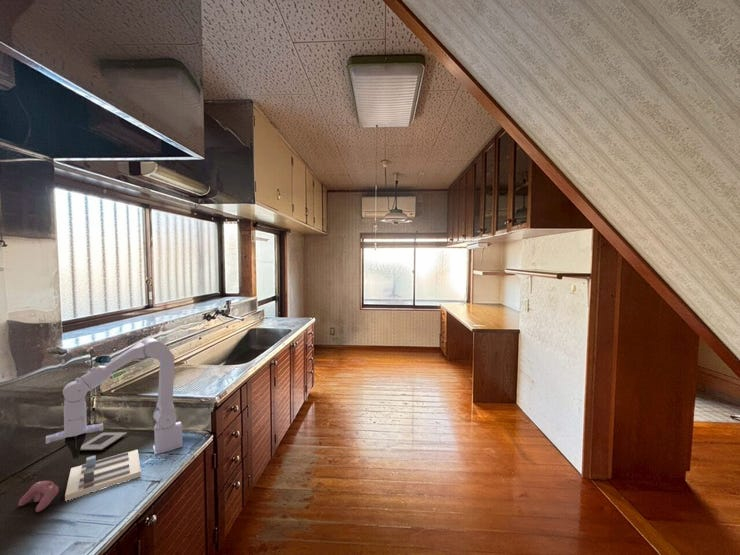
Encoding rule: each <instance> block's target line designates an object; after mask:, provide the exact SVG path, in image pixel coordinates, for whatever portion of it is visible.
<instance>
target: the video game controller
mask: <svg viewBox="0 0 740 555" xmlns="http://www.w3.org/2000/svg"><path fill="white" fill-rule="evenodd" d="M59 488H60V487H59V486H58V485H57V484H55V482H53V481H52V480H40V481H38V482H35V483H34V484H32V485H31V486H30V488H29V489H28V490H27V492H25V494H24V495H23V496H22V497H21V498H19V501H18V506H19V507H22V506H24V505H26V504H27V503H29V502H30V501H31V500H32V499H33V501H34V502H35V503H38V504H37V505H36V506H35V512H36V513H40V512H41V511H43V510H45V509H46V508H47V507H48V506H49V505H50V504H51V502H52V501H53V500H54V499H55V498H56V496H57V495H58V494H59V493H58V492H59Z"/></svg>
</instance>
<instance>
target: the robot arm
mask: <svg viewBox="0 0 740 555" xmlns="http://www.w3.org/2000/svg"><path fill="white" fill-rule="evenodd" d="M145 355H146V356H147V357H148V358H152V359H155V360H157V361H158V362H159V369H158V371H159V373H158V394H157V397H158V398H157V402H156V405H155V406H156V408H155V409H154V412H153V414H152V417H153V420H154V421H155V425H154V427H153V428H154V430H153V432H154V444H153V446H152V449H153V453H154V455H160V454H163V453H165V452H169V451H172V450H177V449H179V448H182V447H184V445H183V444H184V443H183V439H184V437H183V425H182V422H181V421H177V419H178V416H177V414H176V412H175V404H174V401H173V399H174V398H173V397H174V379H175V378H174V376H175V355H174V354H173V353H172V351H171V350H170V349H169V348H168V345H167V344H165V343H163V342H162V341H159V340H158V339H156V338H153V337H148V338H145V339H144V340H143V341H141V342H138V343H136V344H135V345H133V346H132V347H131V348H129V349H128V350H126V351H125V352H123V353H122V354H120V355H118V356H117V357H116V358H114V359H112V361H110V362H108V363H107V364H105V365H97V366H96V367H95V366H92V367H91V368H90V371H88V372H87V373H85V374H83V375H82V376H80V377H78V376H77V377H76V378H74V381H70V382H68V383H66V384H65V385H64V387H63V390H62V394H63V397H64V400H63V405H64V406H63V430H61V431H59V432H56V433H53V434H49V435H46V436H45V444H50V443H51V442H57V441H60V440H64V444H65V446H67V447H68V450H70V453H71V454H72V459H73V460H74V459H79V458H80V452H81V451H80V449H81V446H82V445H83V444H84V443H85V442H84V441H85V440H86V437H87V434H89V433H90V434H91V433H95V432H102V431H104V423H103V422H101V423H97V424H95V423H94V424H90V425H87V424H88V423H87V420H88V419H87V401H86V396H87V393H88V392H90V391H92V390H94V389H95V388H97V387H98V386H100V385H102V384H103V383H104V382H106V381H107V380H109V379H110V378H111V374H112V373H113V372H115V371H117V370H118V369H120V368H121V367H123V366H125V365H127V364H128V363H130V362H131V361H133V360H135V359H145V358H146V357H145Z"/></svg>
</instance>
